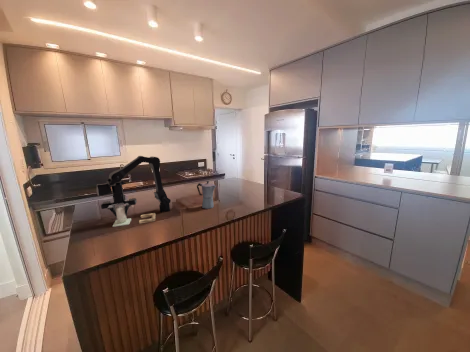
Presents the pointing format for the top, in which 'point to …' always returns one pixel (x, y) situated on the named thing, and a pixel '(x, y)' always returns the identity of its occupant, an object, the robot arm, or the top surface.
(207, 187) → the moka pot
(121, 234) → the top surface
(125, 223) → the sage coaster
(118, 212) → the cream jug
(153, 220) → the oak cradle
